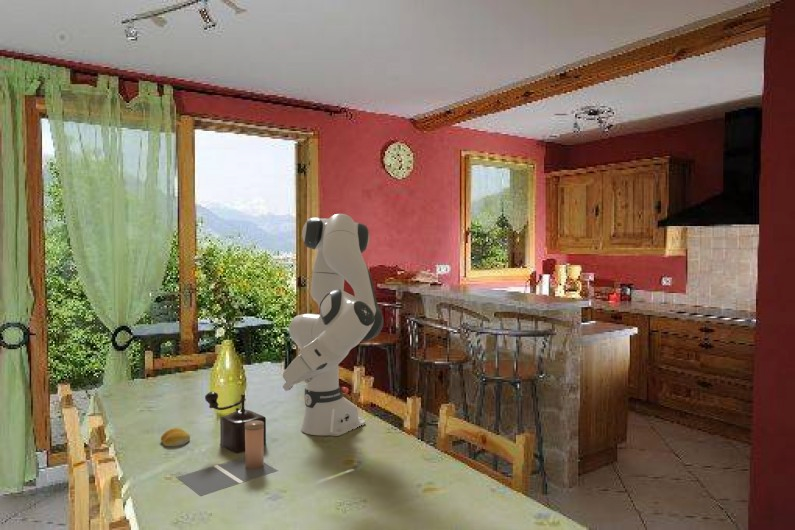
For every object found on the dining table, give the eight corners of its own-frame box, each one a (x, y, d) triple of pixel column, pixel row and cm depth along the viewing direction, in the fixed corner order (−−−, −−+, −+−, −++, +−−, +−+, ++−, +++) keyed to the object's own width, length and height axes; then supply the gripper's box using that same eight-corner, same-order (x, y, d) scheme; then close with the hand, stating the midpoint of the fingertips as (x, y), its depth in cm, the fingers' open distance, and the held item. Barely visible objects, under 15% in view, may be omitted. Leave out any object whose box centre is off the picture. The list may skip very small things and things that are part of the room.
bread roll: (167, 449, 166) (167, 436, 166) (158, 441, 173) (158, 429, 173) (194, 443, 172) (194, 430, 172) (184, 435, 179) (184, 423, 178)
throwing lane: (250, 457, 160) (250, 455, 160) (278, 472, 150) (278, 470, 150) (176, 479, 145) (176, 476, 145) (200, 498, 134) (200, 495, 134)
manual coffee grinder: (247, 437, 177) (247, 382, 176) (267, 446, 169) (266, 389, 168) (202, 450, 165) (202, 392, 165) (221, 460, 158) (220, 399, 157)
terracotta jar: (258, 460, 157) (257, 419, 156) (267, 465, 153) (267, 423, 152) (241, 465, 153) (241, 423, 152) (250, 471, 149) (250, 427, 149)
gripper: (340, 336, 153) (310, 367, 157) (298, 348, 134) (266, 383, 139) (353, 353, 151) (323, 384, 156) (313, 368, 133) (280, 403, 137)
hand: (296, 384), depth 147 cm, fingers open, 8 cm apart
